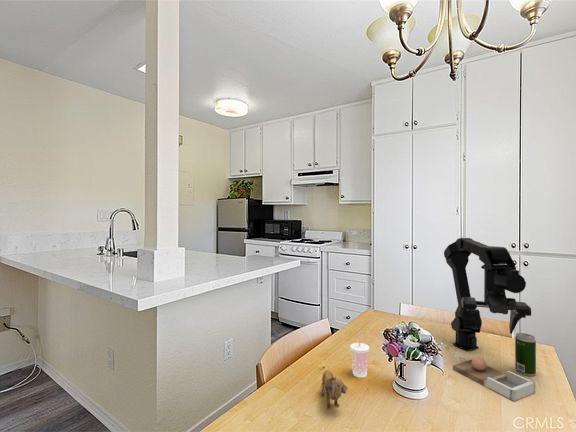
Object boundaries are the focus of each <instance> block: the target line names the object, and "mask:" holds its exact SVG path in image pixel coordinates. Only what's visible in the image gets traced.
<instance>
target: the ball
mask: <svg viewBox="0 0 576 432" xmlns="http://www.w3.org/2000/svg"><path fill="white" fill-rule="evenodd" d="M471 360H472V365H473V367H474V368H475V369H477V370H484V369H485V368H486V365H487V362H486V360H485V359H484V358H482V357H480V356H475V357H473V358H472V359H471Z"/></svg>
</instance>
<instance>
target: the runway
mask: <svg viewBox="0 0 576 432" xmlns="http://www.w3.org/2000/svg"><path fill="white" fill-rule="evenodd" d="M452 370H453V371H455V372H457V373H459V374H461V376H462V375H463V376H465V377H467V378H468V379H470V380H472V381H473V382H476V383H478V384H480V385H482V386H483V387H485V388H487V377H490V378H492V379H494V380H496V381H498V382H502V381H505V380H507V373H504V372H502V371H500V370H497V369H495V368H493V367H491V366H489V365H487V364H486V368H485V369H484V370H477V369H475V368H474V367H473V365H472V359H470V360H466V361H462V362H459V363H456V364H453V365H452Z"/></svg>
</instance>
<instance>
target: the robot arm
mask: <svg viewBox="0 0 576 432" xmlns="http://www.w3.org/2000/svg"><path fill="white" fill-rule="evenodd" d="M471 254H473V255H475V256H477V257H478V260H479V261H480V262H482V263H483V265H482V264H481V269H483V270H484V278H483V279H484V280H483V281H484V283H483V284H484V285H483V290H484V292H483V298H484V299H483V300H476V297H472V296H471V292H470V291H471V290H470V285H469V280H468V274H467V270H466V268H467V266H468V264H469V262H470V261H469V260H470V259H469V257H470V256H471ZM443 256H444V258H445V263H446V264H447V265H448V266H449V267H450V269H451V271H452V276H453V282H454V287H455V294H456V299H457V300H456V302H457V308H456V310H455V312H454V315H455V316H454V319H453V320H451V322H450V327H451V329H452V330H453V331H455V342H453V343H452V345H453V346H455V347H457V348H460V349H461V350H465V351H467V352H469V351H472V350H475V349H479V346H478V344H477V342H478V341H477V339H478V338H477V335H476V334H477V333H478V334H480V332H481V329H482V324H483V322H482V318H481V312H480V310H479V309H477V308H487V309H488V310H489V312H490V313H492V314H502V315H508V314H509V312H510V315H509V324H508V325H509V326H508V327H509V334H510V335H512V334H513V332H514V331H515V329H516V326H517V324H518V322H519V321H520V320H521V319H522V318H523V319H525V318H526V317H528V316H529V317H531V316H532V308H531V306H529V305H528V304H527V303H526V302H522V301H517V300H516V298H514V297H513V298H511V297H507V295H506V291H508V292H510V293H512V294H520V293H522V292H523V291H525V289H526V286H527V282H526V280H525V278H524V277H523V276H522V275H520V271H519V270H517V266H516V262H515V261H514V260H513V259H512V256H511V254H510V252H509V251H508V249H507V248H506V247H504V246H493V245H487V244H484V243H482V242H479V241H476V240H474V239H473V238H471V237H459V238H457V239H456V240H455V241H454V242H452V243H451V244H448V245H447V246H446V248H445V249H444V251H443Z"/></svg>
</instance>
